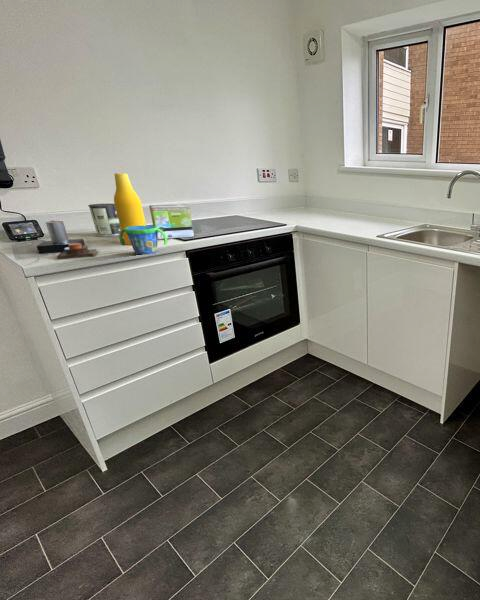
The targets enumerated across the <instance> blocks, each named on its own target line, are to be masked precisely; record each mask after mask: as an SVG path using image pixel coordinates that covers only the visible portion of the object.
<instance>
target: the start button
mask: <svg viewBox="0 0 480 600" xmlns="http://www.w3.org/2000/svg"><path fill="white" fill-rule="evenodd" d="M69 248H70V249H78V248H82V245H81V243H73V244H69Z"/></svg>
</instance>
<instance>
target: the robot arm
mask: <svg viewBox="0 0 480 600" xmlns="http://www.w3.org/2000/svg"><path fill="white" fill-rule="evenodd" d="M5 160H6V155H5V151H4V148H3V144H2V140H1V139H0V181H12V179H11V175H10V173H9V170H8V168H7V165H6V162H5Z"/></svg>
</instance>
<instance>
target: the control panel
mask: <svg viewBox="0 0 480 600" xmlns="http://www.w3.org/2000/svg"><path fill="white" fill-rule="evenodd" d="M73 243H81V245H82V246H86V242H85V240H84V238H74V239H69V242H66V243H52V241H51V240H43V241H42V242H40V243H38V245H36V249H37V250H36V251H37V253H38V254H40V255H41V254H57V253H61V252H63V251H64V248H67V247H69V244H73Z"/></svg>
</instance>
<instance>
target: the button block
mask: <svg viewBox="0 0 480 600" xmlns="http://www.w3.org/2000/svg"><path fill="white" fill-rule="evenodd" d="M97 253H98V250H97V249H96V248H92V249H91V248H88V246H87V245H85V246H82V248H78V249H70V248H69V247H67V248H64V251H63V252H59V254H57V255H56V258H57V260H64V259H65V260H66V259H78V258H91V257H95V255H96V254H97Z"/></svg>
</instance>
